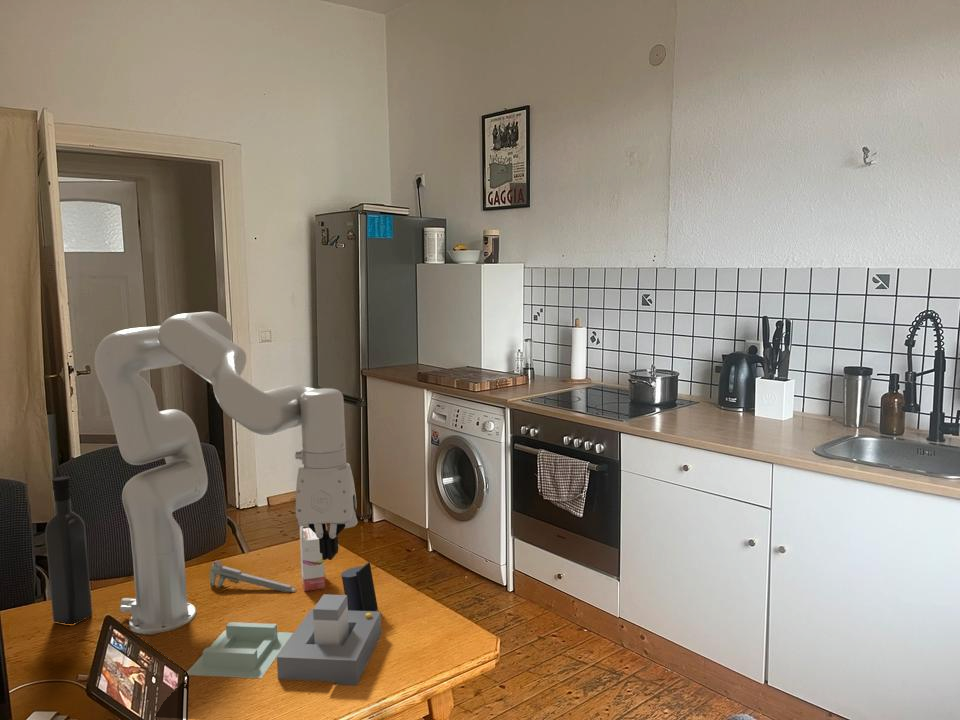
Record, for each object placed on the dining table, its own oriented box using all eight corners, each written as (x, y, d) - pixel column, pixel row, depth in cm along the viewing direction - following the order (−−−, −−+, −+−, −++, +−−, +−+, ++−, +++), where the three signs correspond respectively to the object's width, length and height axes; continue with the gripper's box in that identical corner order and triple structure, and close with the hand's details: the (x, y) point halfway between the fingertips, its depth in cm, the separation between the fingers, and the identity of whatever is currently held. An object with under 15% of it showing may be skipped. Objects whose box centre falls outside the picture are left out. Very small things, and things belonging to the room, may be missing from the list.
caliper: (210, 587, 167) (208, 561, 166) (212, 585, 168) (211, 559, 167) (294, 593, 164) (293, 566, 163) (297, 591, 165) (295, 564, 164)
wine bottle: (50, 624, 150) (37, 481, 147) (73, 611, 156) (61, 473, 152) (72, 627, 149) (60, 483, 145) (95, 615, 154) (83, 475, 150)
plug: (315, 661, 134) (313, 609, 132) (325, 644, 140) (323, 594, 138) (339, 662, 133) (337, 610, 132) (349, 645, 139) (347, 595, 138)
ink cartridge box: (326, 588, 165) (323, 525, 163) (303, 592, 164) (300, 528, 162) (322, 573, 173) (320, 513, 171) (301, 576, 172) (298, 515, 170)
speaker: (386, 609, 154) (379, 562, 153) (365, 621, 150) (358, 572, 149) (362, 603, 159) (355, 556, 158) (341, 614, 155) (334, 566, 154)
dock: (278, 682, 128) (276, 653, 128) (311, 631, 146) (310, 606, 145) (356, 685, 127) (355, 657, 126) (381, 633, 145) (380, 608, 144)
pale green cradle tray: (184, 677, 130) (183, 658, 130) (225, 632, 146) (223, 615, 145) (261, 681, 129) (260, 661, 128) (293, 635, 144) (292, 618, 144)
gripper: (276, 463, 129) (281, 564, 131) (360, 464, 127) (364, 566, 129) (291, 452, 136) (296, 548, 138) (371, 453, 135) (374, 550, 137)
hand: (329, 556), depth 134 cm, fingers closed
